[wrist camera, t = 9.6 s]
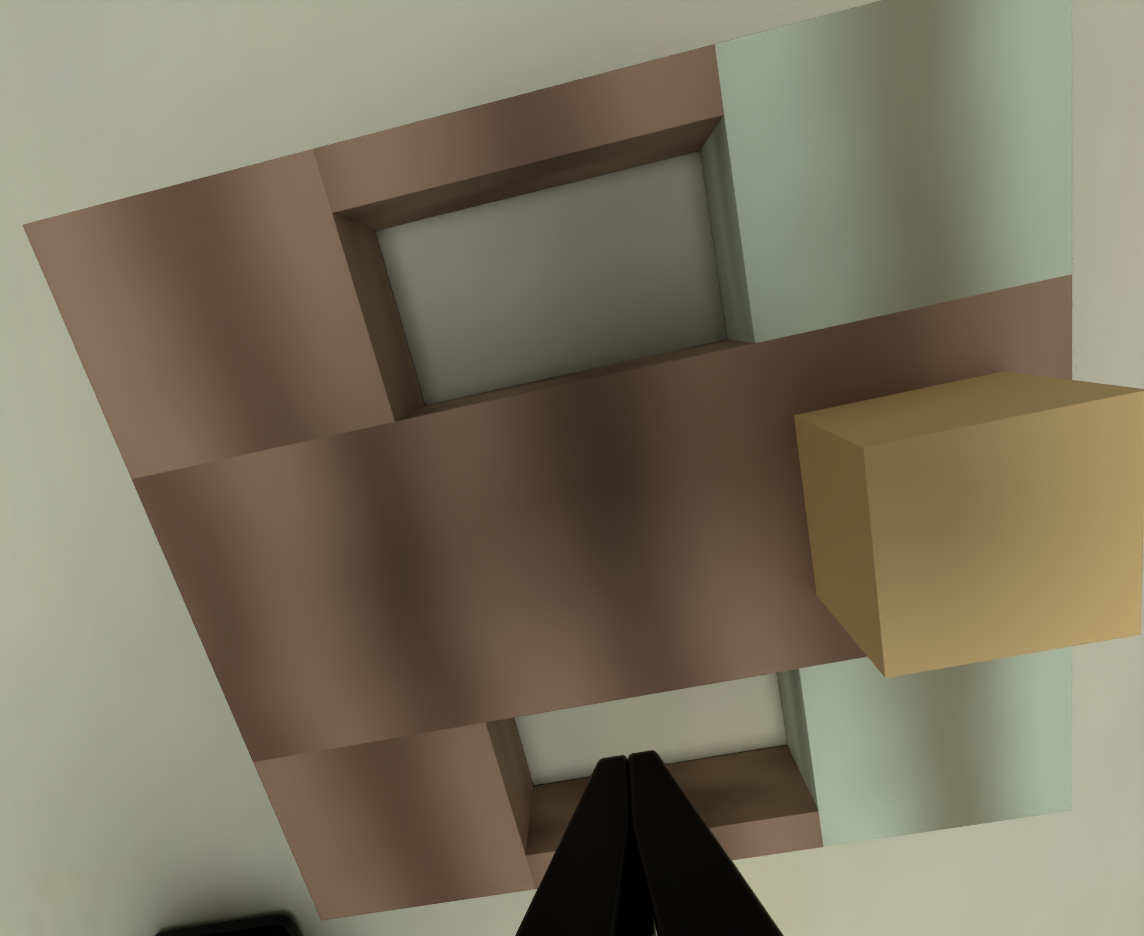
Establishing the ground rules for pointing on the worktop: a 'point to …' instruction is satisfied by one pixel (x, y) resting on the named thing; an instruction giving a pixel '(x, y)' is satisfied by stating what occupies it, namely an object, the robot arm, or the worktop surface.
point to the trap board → (589, 446)
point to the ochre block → (977, 518)
